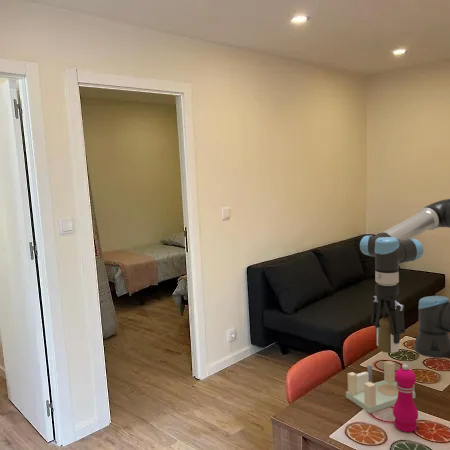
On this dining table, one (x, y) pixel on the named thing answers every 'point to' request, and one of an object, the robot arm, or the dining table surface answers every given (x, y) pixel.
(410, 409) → the pepper mill
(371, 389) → the stand
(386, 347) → the pepper shaker
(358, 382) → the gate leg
